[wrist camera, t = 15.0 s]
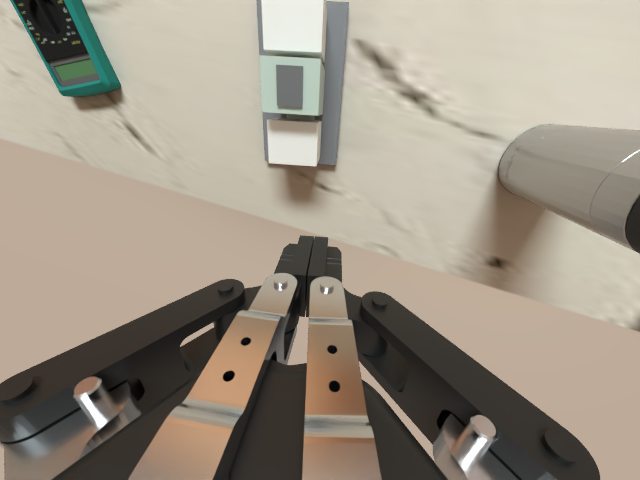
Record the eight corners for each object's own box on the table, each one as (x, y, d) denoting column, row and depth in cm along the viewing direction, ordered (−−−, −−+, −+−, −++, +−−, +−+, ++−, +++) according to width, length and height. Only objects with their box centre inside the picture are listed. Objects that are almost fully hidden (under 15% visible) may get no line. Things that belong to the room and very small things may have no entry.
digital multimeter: (55, -71, 26) (24, -91, 24) (125, 89, 33) (107, 87, 30) (-1, -54, 27) (-37, -71, 25) (79, 99, 34) (57, 98, 31)
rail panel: (348, 6, 27) (351, -29, 20) (335, 163, 35) (335, 176, 28) (259, 2, 28) (233, -34, 21) (267, 158, 36) (250, 170, 29)
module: (325, 71, 29) (320, 58, 21) (322, 114, 31) (317, 115, 24) (278, 68, 29) (258, 54, 22) (279, 111, 31) (261, 112, 24)
